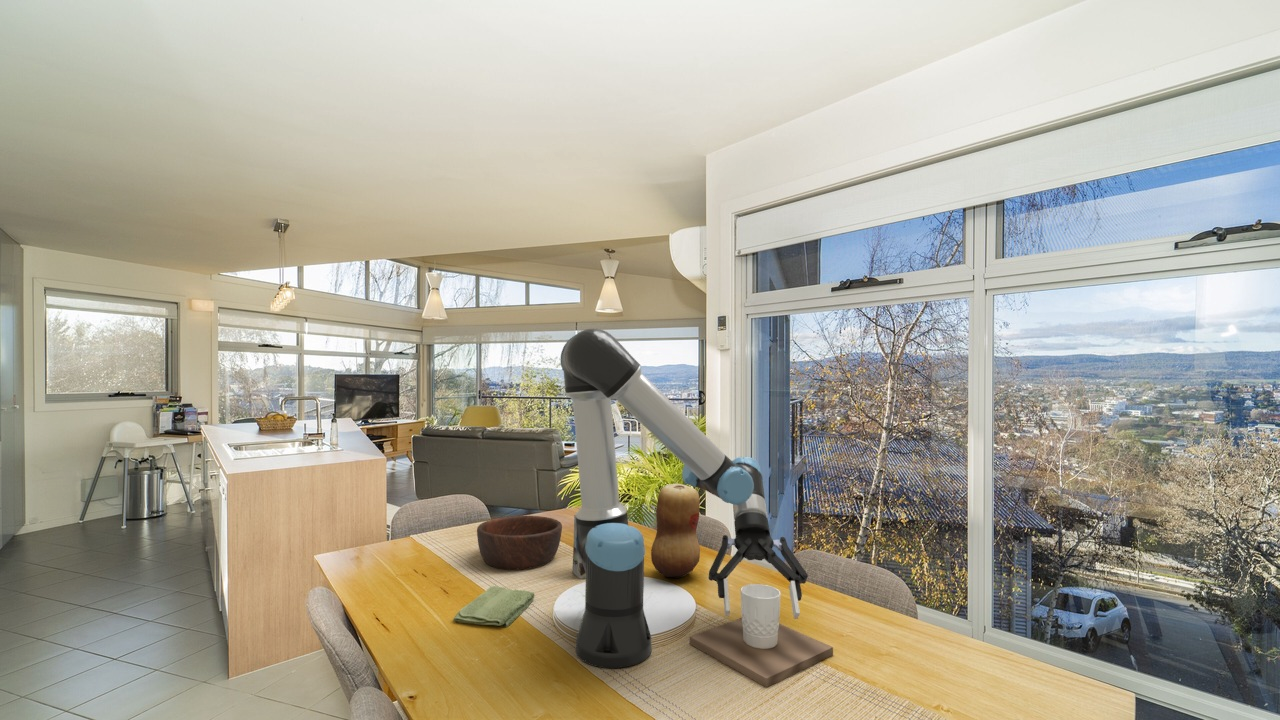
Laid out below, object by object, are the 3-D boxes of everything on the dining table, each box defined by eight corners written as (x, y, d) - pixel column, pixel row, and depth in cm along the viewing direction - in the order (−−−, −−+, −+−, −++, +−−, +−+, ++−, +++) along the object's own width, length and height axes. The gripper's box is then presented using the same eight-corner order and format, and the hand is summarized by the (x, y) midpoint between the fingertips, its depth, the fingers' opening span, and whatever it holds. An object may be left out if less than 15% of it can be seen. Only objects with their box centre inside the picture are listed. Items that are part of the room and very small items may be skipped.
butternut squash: (685, 588, 143) (686, 491, 144) (641, 578, 150) (643, 486, 151) (708, 573, 155) (709, 484, 156) (666, 564, 162) (667, 479, 163)
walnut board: (766, 687, 97) (766, 678, 97) (689, 643, 113) (689, 636, 113) (833, 654, 109) (832, 647, 109) (754, 619, 125) (754, 612, 125)
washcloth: (450, 625, 120) (450, 610, 121) (490, 596, 138) (490, 582, 138) (505, 632, 117) (505, 617, 118) (539, 601, 135) (539, 588, 135)
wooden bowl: (553, 574, 153) (554, 537, 153) (464, 573, 153) (465, 535, 153) (566, 548, 178) (567, 515, 178) (489, 546, 178) (490, 514, 178)
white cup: (781, 652, 106) (781, 600, 107) (739, 648, 108) (740, 596, 108) (779, 634, 114) (779, 585, 114) (740, 630, 115) (741, 582, 116)
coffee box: (580, 579, 149) (581, 519, 149) (572, 572, 154) (573, 514, 155) (611, 574, 153) (612, 516, 154) (601, 567, 159) (602, 511, 159)
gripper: (803, 529, 126) (822, 624, 111) (694, 526, 128) (697, 620, 112) (809, 511, 121) (830, 608, 106) (696, 508, 123) (699, 604, 107)
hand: (762, 615), depth 109 cm, fingers open, 13 cm apart
